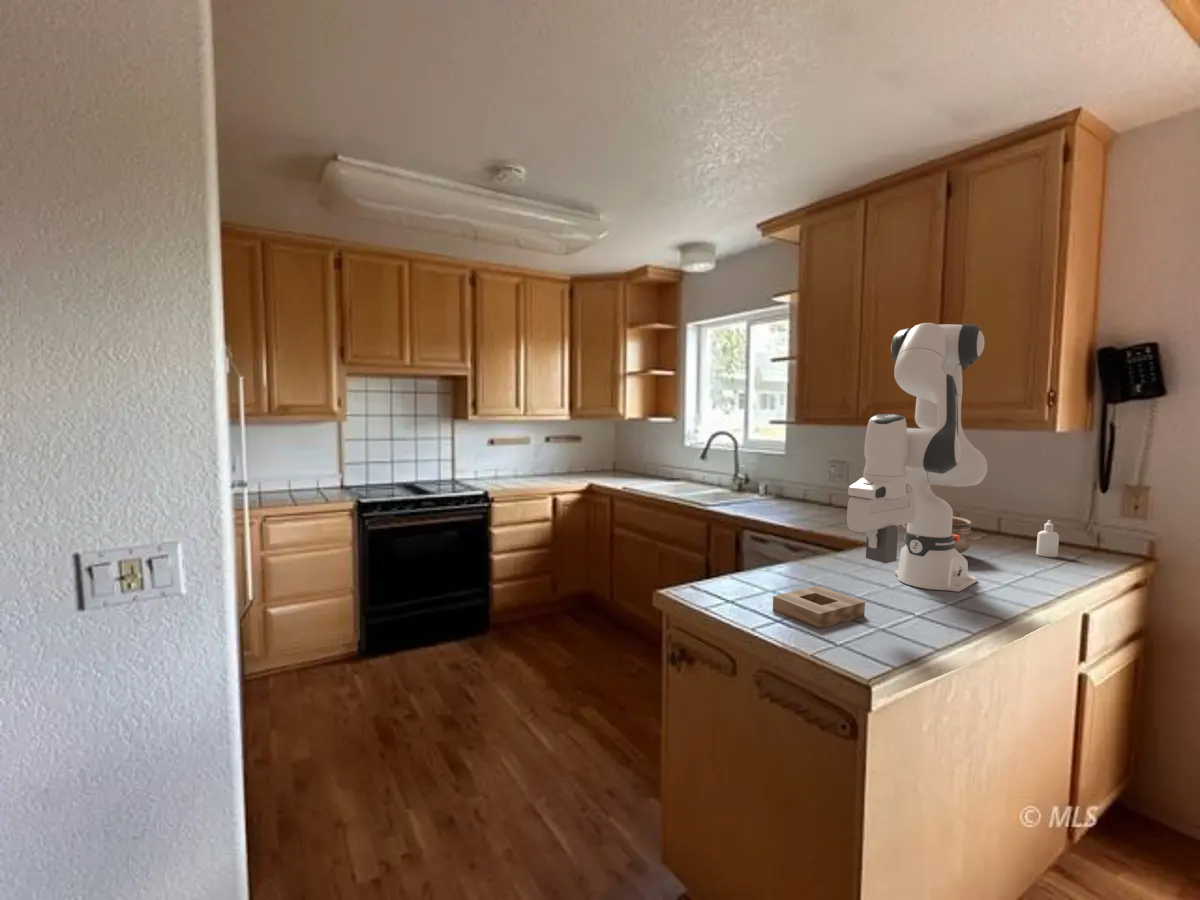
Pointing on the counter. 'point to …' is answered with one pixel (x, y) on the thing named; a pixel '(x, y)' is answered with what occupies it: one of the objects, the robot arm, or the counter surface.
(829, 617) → the dock
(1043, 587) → the counter surface
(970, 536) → the cooking pot
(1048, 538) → the eye dropper bottle
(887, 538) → the block
